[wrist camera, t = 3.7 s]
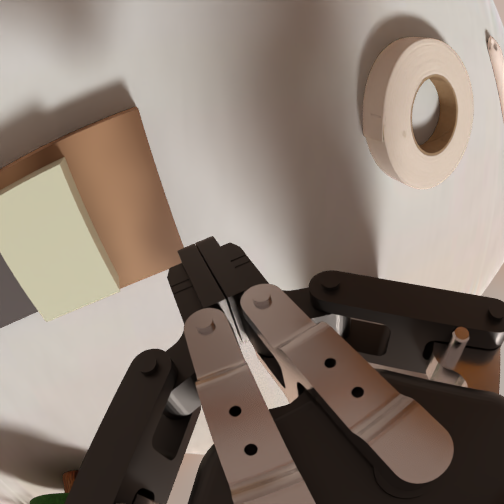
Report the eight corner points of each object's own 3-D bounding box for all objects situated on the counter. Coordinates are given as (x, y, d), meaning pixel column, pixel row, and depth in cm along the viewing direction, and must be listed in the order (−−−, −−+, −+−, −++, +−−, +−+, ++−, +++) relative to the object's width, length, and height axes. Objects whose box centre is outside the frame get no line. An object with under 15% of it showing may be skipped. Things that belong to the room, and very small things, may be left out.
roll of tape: (432, 18, 22) (454, 19, 20) (463, 134, 32) (481, 141, 29) (333, 76, 22) (356, 79, 20) (387, 208, 32) (406, 220, 29)
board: (136, 106, 18) (138, 108, 16) (182, 247, 24) (188, 260, 23) (-20, 181, 15) (-31, 191, 14) (48, 303, 22) (45, 319, 20)
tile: (64, 156, 16) (59, 164, 14) (118, 276, 21) (120, 291, 20) (-14, 198, 14) (-23, 209, 13) (48, 305, 20) (46, 322, 18)
